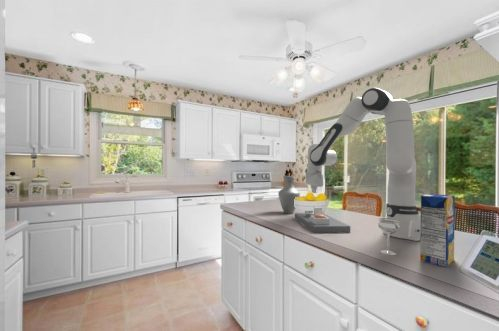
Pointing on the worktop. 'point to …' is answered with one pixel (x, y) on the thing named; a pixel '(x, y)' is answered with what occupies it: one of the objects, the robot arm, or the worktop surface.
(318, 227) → the panel
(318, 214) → the push button
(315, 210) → the paddle
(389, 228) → the wineglass
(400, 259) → the worktop surface
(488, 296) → the worktop surface
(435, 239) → the beverage box
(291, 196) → the vase
